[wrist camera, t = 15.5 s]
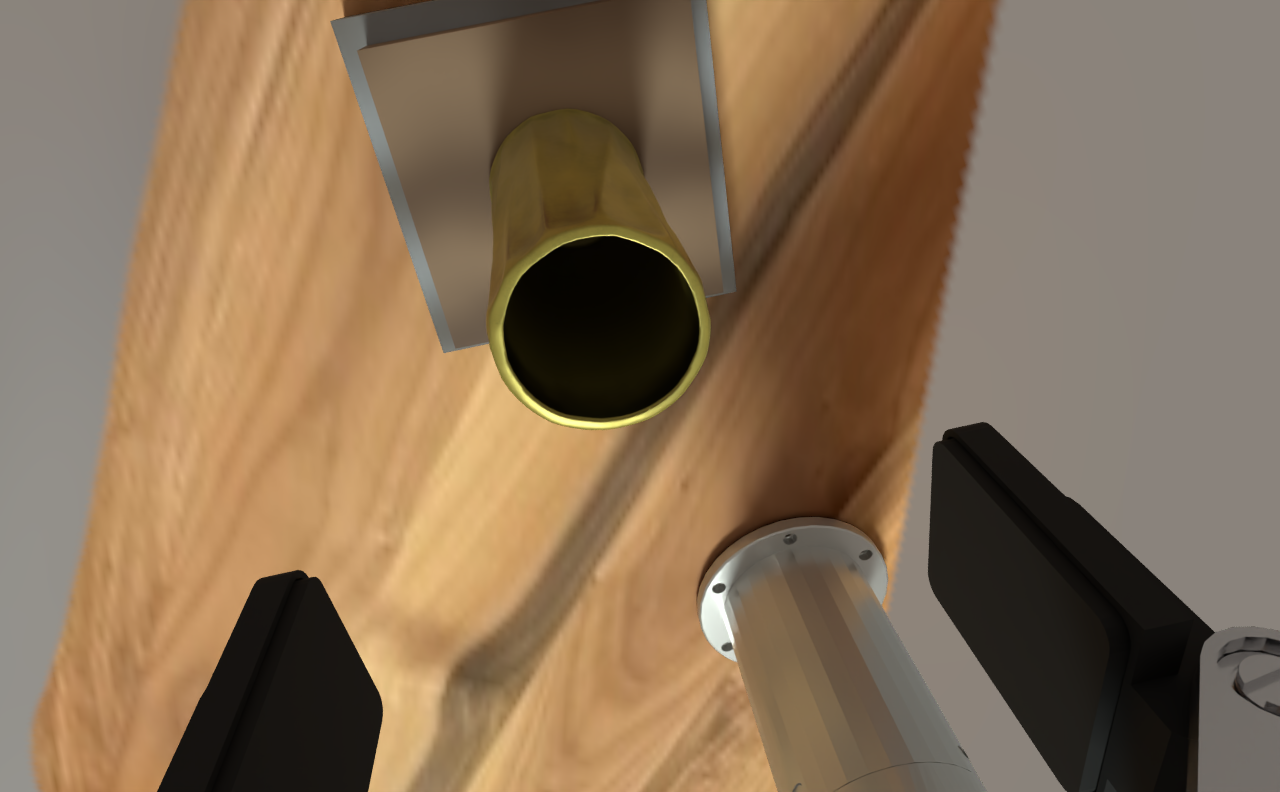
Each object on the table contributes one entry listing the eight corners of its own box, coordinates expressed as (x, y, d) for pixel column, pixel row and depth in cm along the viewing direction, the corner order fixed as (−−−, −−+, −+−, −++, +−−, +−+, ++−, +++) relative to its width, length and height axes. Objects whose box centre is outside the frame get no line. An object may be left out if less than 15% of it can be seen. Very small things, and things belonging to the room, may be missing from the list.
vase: (585, 73, 27) (639, 144, 15) (672, 206, 30) (777, 358, 18) (456, 170, 29) (408, 312, 16) (553, 291, 31) (575, 489, 19)
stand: (724, 272, 37) (747, 308, 33) (448, 330, 37) (439, 373, 33) (688, -50, 30) (712, -52, 26) (344, 17, 29) (317, 24, 26)
